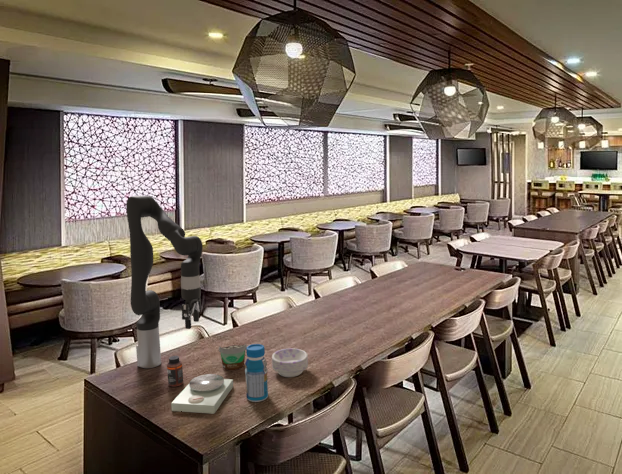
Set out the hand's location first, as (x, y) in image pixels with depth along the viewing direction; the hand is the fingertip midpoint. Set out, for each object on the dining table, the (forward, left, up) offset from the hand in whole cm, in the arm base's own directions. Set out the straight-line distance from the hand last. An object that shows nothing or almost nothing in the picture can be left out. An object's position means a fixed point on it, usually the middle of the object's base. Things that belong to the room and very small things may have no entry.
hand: (192, 324), depth 191 cm
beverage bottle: (+30, -12, -24) cm, 40 cm away
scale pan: (+10, -11, -20) cm, 25 cm away
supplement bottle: (-6, -5, -24) cm, 25 cm away
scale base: (+10, -15, -23) cm, 29 cm away
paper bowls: (+38, +11, -24) cm, 46 cm away
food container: (+13, +12, -24) cm, 29 cm away
